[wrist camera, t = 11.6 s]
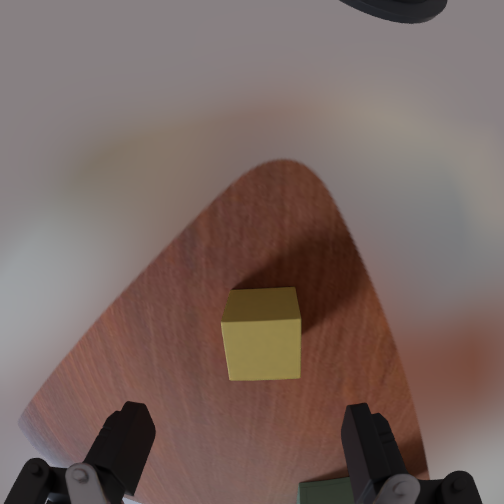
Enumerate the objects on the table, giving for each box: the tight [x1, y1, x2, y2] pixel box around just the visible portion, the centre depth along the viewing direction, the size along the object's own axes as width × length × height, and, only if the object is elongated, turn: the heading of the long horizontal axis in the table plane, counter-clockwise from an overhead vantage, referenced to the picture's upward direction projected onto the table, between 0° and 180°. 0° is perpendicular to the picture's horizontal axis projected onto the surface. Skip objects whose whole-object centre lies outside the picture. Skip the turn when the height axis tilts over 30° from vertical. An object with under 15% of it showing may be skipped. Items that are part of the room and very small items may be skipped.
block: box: [221, 287, 301, 380], centre depth 16 cm, size 4×4×4 cm
